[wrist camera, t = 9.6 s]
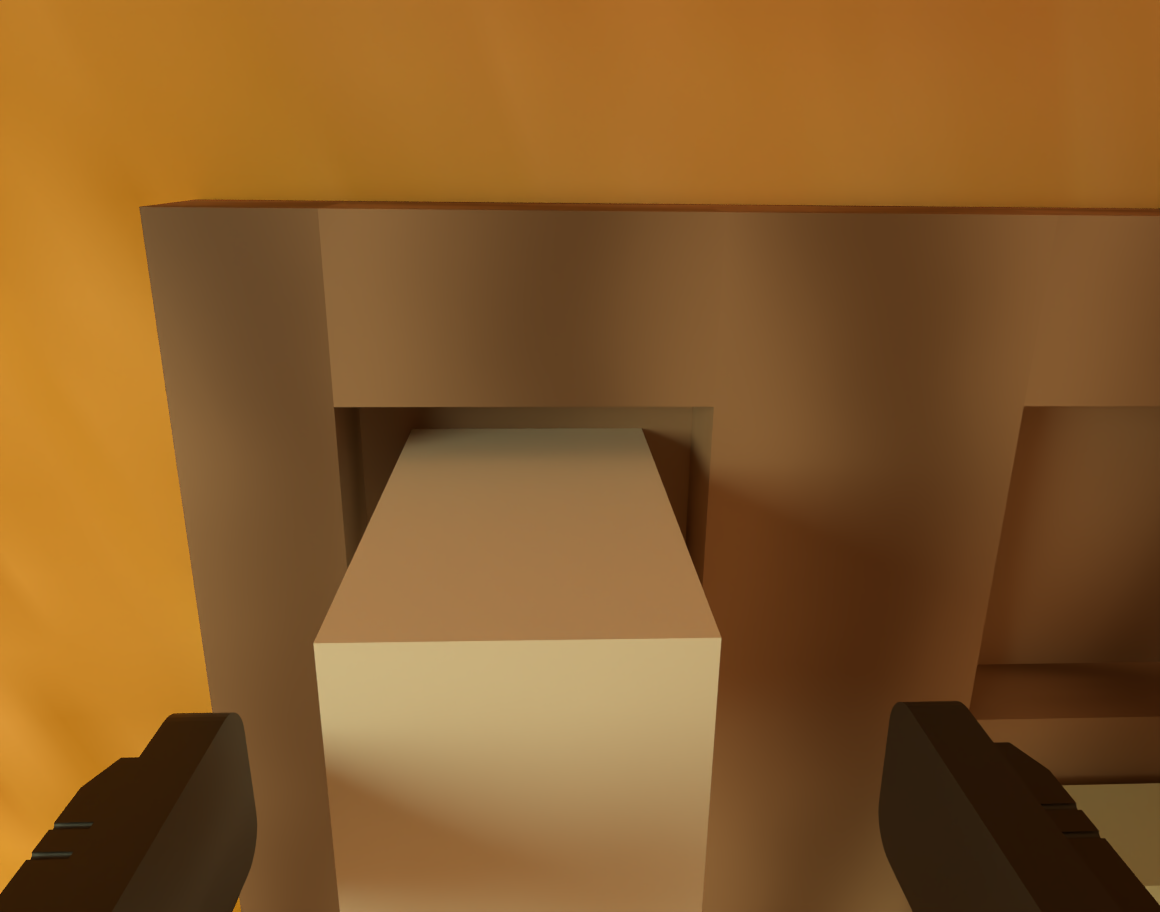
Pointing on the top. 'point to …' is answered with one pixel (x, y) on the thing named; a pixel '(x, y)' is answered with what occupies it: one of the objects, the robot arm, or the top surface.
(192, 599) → the top surface
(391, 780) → the cream block
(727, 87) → the top surface
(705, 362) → the puzzle board
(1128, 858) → the lid
